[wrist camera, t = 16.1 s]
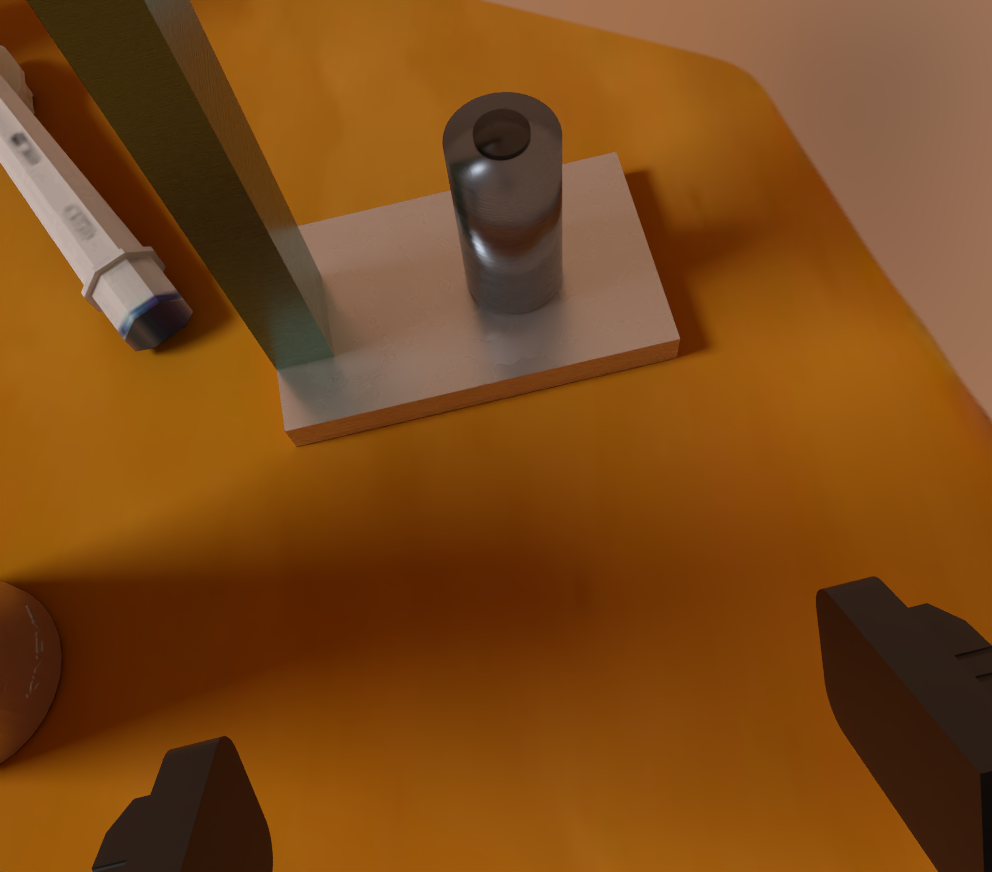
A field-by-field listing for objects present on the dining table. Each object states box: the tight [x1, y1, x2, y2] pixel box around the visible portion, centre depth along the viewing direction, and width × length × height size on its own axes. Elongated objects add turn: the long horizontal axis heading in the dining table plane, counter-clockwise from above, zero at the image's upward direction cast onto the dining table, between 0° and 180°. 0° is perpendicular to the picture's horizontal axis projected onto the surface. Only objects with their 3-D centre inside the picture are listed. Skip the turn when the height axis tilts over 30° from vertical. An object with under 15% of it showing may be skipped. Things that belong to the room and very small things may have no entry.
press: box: [27, 0, 680, 447], centre depth 36 cm, size 20×21×32 cm
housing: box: [443, 92, 563, 315], centre depth 43 cm, size 5×5×10 cm
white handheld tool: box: [0, 45, 193, 351], centre depth 53 cm, size 5×7×25 cm
